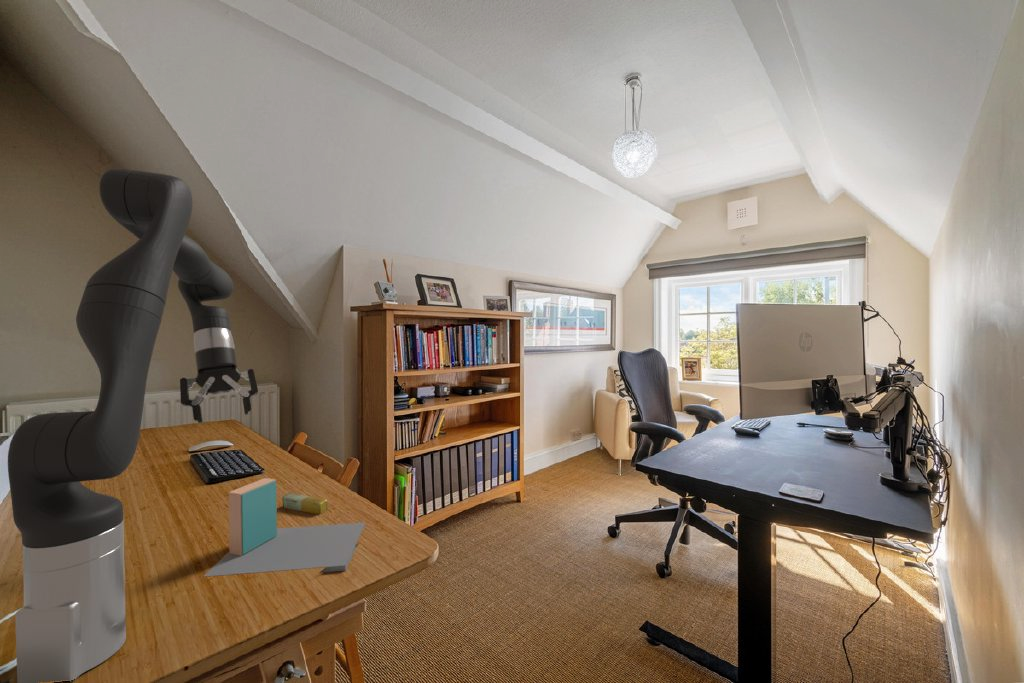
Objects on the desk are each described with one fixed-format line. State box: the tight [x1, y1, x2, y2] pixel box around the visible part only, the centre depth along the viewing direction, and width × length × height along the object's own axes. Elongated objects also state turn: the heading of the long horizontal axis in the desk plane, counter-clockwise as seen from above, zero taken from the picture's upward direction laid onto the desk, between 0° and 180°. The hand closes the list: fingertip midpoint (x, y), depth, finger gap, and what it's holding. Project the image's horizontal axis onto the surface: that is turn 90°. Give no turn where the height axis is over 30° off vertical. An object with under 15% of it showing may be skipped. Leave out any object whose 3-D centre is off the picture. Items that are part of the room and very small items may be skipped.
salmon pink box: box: [228, 477, 278, 556], centre depth 81 cm, size 3×8×12 cm, turn 163°
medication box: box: [281, 492, 329, 515], centre depth 98 cm, size 12×3×4 cm, turn 71°
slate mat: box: [202, 522, 367, 578], centre depth 81 cm, size 17×24×1 cm
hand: (224, 418), depth 91 cm, fingers open, 8 cm apart
